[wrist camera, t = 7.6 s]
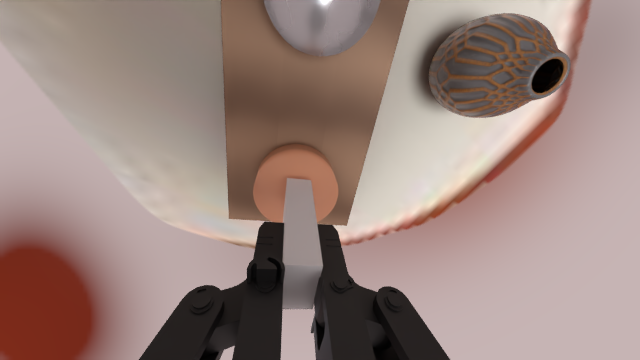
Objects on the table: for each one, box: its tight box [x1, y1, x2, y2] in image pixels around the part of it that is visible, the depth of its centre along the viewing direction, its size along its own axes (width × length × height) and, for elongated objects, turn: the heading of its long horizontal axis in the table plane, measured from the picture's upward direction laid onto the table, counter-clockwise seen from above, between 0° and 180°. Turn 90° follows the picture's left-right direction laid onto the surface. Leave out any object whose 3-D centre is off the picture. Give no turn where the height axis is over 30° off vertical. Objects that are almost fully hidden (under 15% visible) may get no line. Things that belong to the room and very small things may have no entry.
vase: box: [429, 13, 570, 118], centre depth 17 cm, size 7×7×9 cm
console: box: [221, 0, 409, 226], centre depth 17 cm, size 20×10×6 cm, turn 171°
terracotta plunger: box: [253, 144, 338, 223], centre depth 18 cm, size 6×6×6 cm
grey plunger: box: [264, 0, 380, 56], centre depth 13 cm, size 6×6×6 cm
